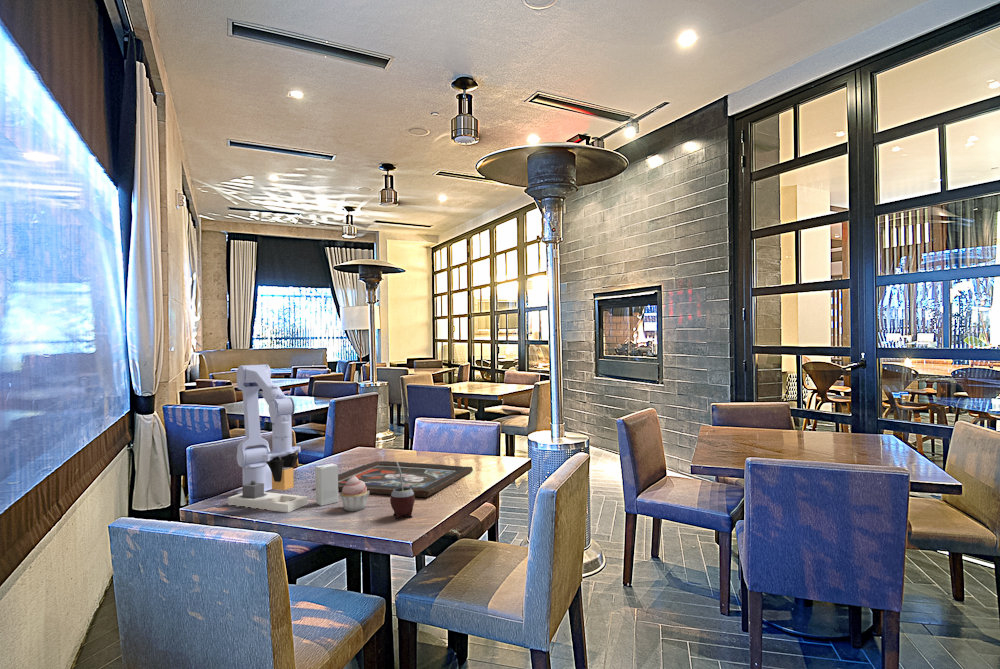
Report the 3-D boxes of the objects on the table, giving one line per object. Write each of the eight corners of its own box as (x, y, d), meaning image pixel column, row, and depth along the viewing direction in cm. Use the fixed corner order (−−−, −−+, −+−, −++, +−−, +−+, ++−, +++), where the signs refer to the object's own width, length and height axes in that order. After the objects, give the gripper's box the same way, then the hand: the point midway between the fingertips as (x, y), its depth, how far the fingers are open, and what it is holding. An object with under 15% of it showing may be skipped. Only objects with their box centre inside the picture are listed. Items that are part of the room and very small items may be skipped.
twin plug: (252, 500, 187) (251, 479, 187) (264, 501, 185) (263, 480, 185) (242, 503, 183) (242, 482, 183) (254, 505, 181) (254, 483, 181)
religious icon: (431, 500, 185) (431, 490, 185) (314, 491, 199) (314, 482, 199) (476, 472, 223) (476, 465, 223) (375, 467, 237) (375, 460, 237)
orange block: (281, 485, 182) (280, 466, 182) (293, 486, 181) (293, 467, 181) (271, 488, 179) (271, 468, 179) (284, 490, 177) (284, 469, 177)
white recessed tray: (249, 497, 190) (249, 489, 190) (308, 504, 182) (307, 496, 182) (228, 505, 182) (227, 497, 182) (288, 512, 173) (287, 503, 173)
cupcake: (373, 503, 181) (372, 472, 181) (366, 512, 172) (365, 479, 172) (343, 504, 181) (343, 472, 181) (335, 513, 172) (334, 480, 172)
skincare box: (332, 499, 186) (332, 462, 186) (339, 502, 183) (338, 464, 183) (314, 503, 182) (314, 465, 182) (321, 506, 179) (320, 467, 179)
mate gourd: (406, 521, 163) (405, 469, 163) (383, 518, 166) (382, 467, 166) (420, 513, 170) (419, 463, 170) (397, 511, 173) (396, 461, 173)
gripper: (275, 441, 171) (275, 486, 171) (307, 433, 185) (308, 475, 185) (257, 439, 174) (257, 484, 174) (290, 432, 188) (291, 473, 187)
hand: (282, 479), depth 180 cm, fingers closed on orange block, 4 cm apart
